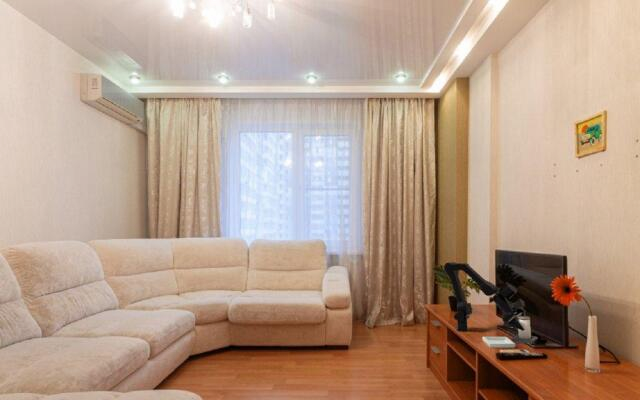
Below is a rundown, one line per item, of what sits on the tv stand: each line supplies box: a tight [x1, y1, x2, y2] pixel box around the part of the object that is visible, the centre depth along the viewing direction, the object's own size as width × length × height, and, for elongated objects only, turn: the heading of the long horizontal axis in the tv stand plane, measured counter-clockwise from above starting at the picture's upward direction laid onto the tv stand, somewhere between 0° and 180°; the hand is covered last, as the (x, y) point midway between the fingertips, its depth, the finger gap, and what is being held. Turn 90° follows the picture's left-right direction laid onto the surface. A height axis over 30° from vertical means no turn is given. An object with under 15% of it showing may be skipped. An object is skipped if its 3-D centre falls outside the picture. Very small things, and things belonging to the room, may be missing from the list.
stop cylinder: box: [518, 315, 532, 340], centre depth 200 cm, size 6×6×12 cm
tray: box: [482, 336, 516, 349], centre depth 197 cm, size 12×12×2 cm
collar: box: [511, 333, 539, 345], centre depth 200 cm, size 9×9×2 cm
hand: (526, 328), depth 200 cm, fingers open, 9 cm apart
